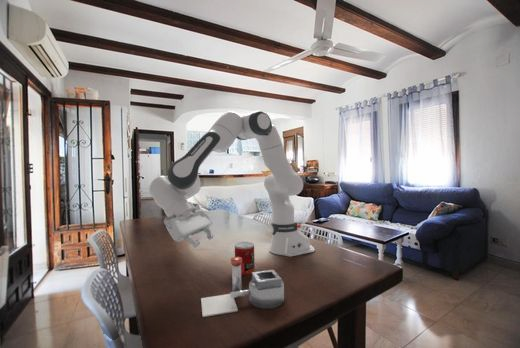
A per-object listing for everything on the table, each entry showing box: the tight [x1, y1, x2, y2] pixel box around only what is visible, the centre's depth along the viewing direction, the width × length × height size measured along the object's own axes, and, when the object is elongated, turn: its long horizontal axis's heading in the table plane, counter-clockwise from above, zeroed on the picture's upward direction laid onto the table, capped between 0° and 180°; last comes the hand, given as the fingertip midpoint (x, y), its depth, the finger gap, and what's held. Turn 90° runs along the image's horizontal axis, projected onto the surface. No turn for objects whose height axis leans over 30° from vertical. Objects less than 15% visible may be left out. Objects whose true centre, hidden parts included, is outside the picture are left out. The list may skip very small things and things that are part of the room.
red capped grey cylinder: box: [230, 256, 242, 292], centre depth 85 cm, size 4×4×11 cm
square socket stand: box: [229, 269, 285, 310], centre depth 78 cm, size 17×11×8 cm, turn 106°
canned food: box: [234, 241, 255, 276], centre depth 101 cm, size 8×8×11 cm
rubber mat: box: [200, 293, 239, 318], centre depth 76 cm, size 10×10×1 cm
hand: (205, 242), depth 88 cm, fingers open, 8 cm apart
